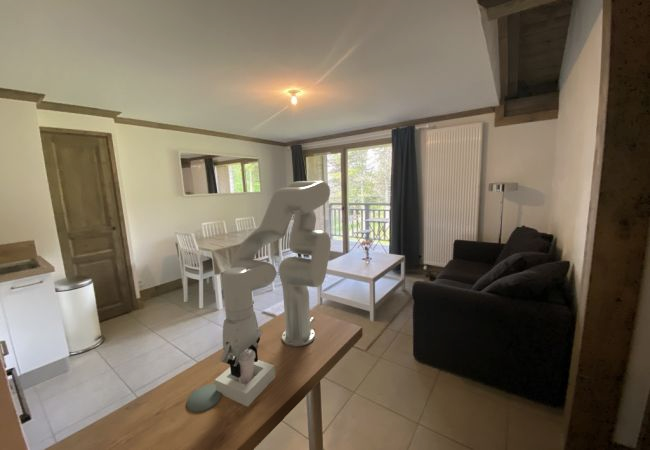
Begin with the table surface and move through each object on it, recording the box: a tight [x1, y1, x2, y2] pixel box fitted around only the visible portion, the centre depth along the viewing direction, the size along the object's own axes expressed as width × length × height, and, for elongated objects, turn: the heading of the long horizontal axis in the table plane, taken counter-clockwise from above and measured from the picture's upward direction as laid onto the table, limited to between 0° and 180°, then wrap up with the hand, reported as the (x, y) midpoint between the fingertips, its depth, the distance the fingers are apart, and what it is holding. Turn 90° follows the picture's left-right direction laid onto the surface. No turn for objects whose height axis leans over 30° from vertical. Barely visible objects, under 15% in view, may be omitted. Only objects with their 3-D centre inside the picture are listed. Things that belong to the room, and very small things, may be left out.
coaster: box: [186, 383, 223, 413], centre depth 75 cm, size 9×9×1 cm
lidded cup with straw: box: [233, 348, 255, 385], centre depth 78 cm, size 6×6×14 cm
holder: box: [214, 359, 276, 408], centre depth 79 cm, size 12×12×4 cm
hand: (245, 367), depth 79 cm, fingers closed on lidded cup with straw, 6 cm apart
